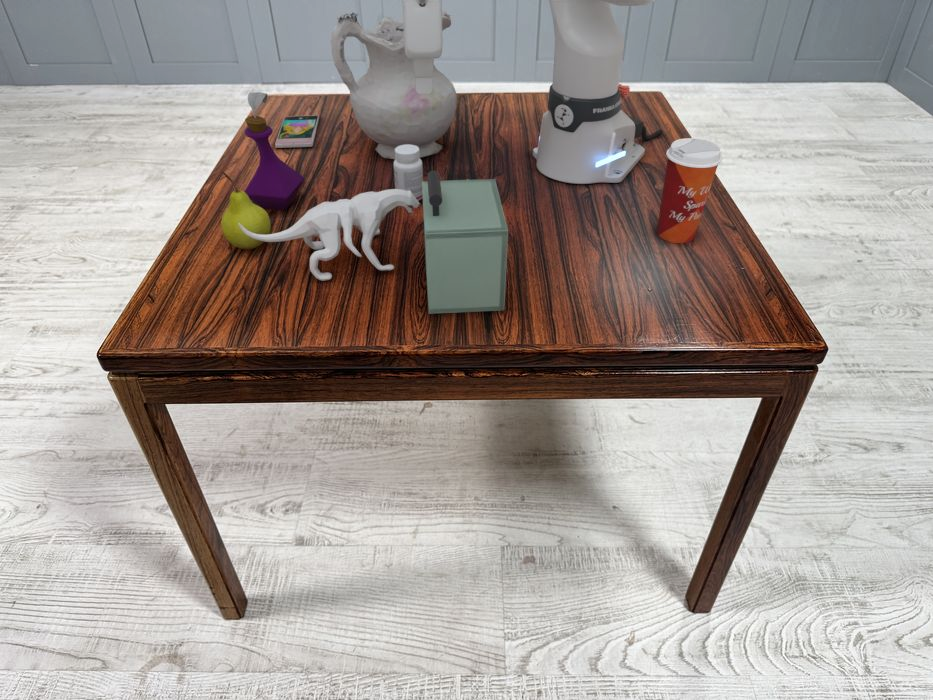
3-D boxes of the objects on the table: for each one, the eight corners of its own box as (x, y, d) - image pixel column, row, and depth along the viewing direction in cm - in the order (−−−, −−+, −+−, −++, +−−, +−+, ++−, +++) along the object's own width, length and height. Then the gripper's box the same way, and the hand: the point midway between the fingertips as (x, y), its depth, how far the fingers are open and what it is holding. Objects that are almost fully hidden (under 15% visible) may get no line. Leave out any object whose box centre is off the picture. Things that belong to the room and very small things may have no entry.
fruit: (282, 237, 100) (267, 163, 93) (261, 261, 95) (243, 185, 88) (242, 232, 102) (223, 158, 94) (219, 254, 97) (197, 179, 89)
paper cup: (672, 251, 97) (694, 162, 88) (639, 228, 103) (656, 142, 94) (712, 239, 100) (736, 151, 91) (678, 217, 105) (698, 132, 96)
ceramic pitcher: (379, 187, 116) (373, 39, 99) (323, 144, 126) (309, 4, 109) (473, 156, 126) (483, 17, 109) (415, 118, 137) (415, -13, 120)
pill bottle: (428, 193, 112) (427, 146, 106) (415, 205, 108) (413, 157, 103) (404, 188, 113) (401, 141, 108) (390, 200, 110) (386, 152, 104)
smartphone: (319, 115, 137) (312, 143, 125) (319, 118, 137) (313, 147, 126) (284, 116, 136) (274, 144, 125) (285, 119, 137) (275, 148, 125)
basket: (492, 254, 97) (495, 156, 87) (504, 310, 86) (509, 206, 76) (425, 256, 96) (420, 158, 86) (428, 314, 86) (423, 209, 76)
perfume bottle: (290, 216, 105) (268, 104, 94) (247, 211, 107) (220, 100, 95) (308, 195, 111) (289, 87, 99) (267, 191, 112) (243, 83, 101)
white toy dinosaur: (432, 268, 94) (429, 205, 87) (253, 297, 88) (236, 233, 82) (412, 227, 103) (409, 168, 96) (249, 252, 97) (233, 190, 91)
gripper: (457, -50, 57) (457, 110, 65) (444, -81, 72) (445, 51, 81) (384, -50, 56) (394, 111, 65) (386, -81, 72) (394, 52, 81)
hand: (422, 78), depth 73 cm, fingers open, 8 cm apart
